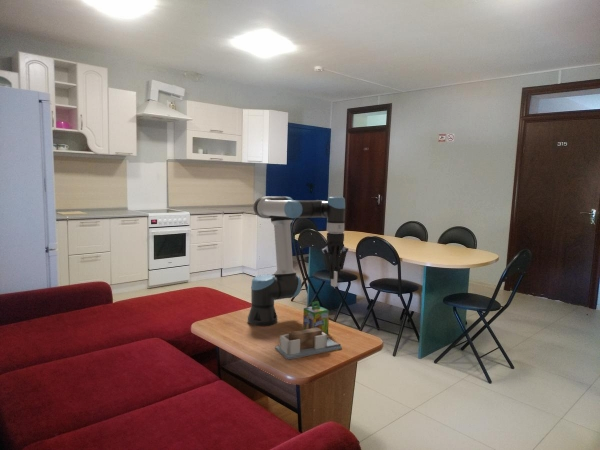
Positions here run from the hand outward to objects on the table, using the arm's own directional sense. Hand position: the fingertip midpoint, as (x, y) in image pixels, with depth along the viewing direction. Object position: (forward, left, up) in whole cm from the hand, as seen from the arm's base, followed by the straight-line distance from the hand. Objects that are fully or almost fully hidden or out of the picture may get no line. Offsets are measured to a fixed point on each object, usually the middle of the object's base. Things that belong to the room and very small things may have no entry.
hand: (333, 285), depth 176 cm
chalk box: (-16, +1, -27) cm, 31 cm away
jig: (0, -12, -26) cm, 29 cm away
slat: (0, -14, -25) cm, 29 cm away
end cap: (0, -8, -25) cm, 27 cm away
